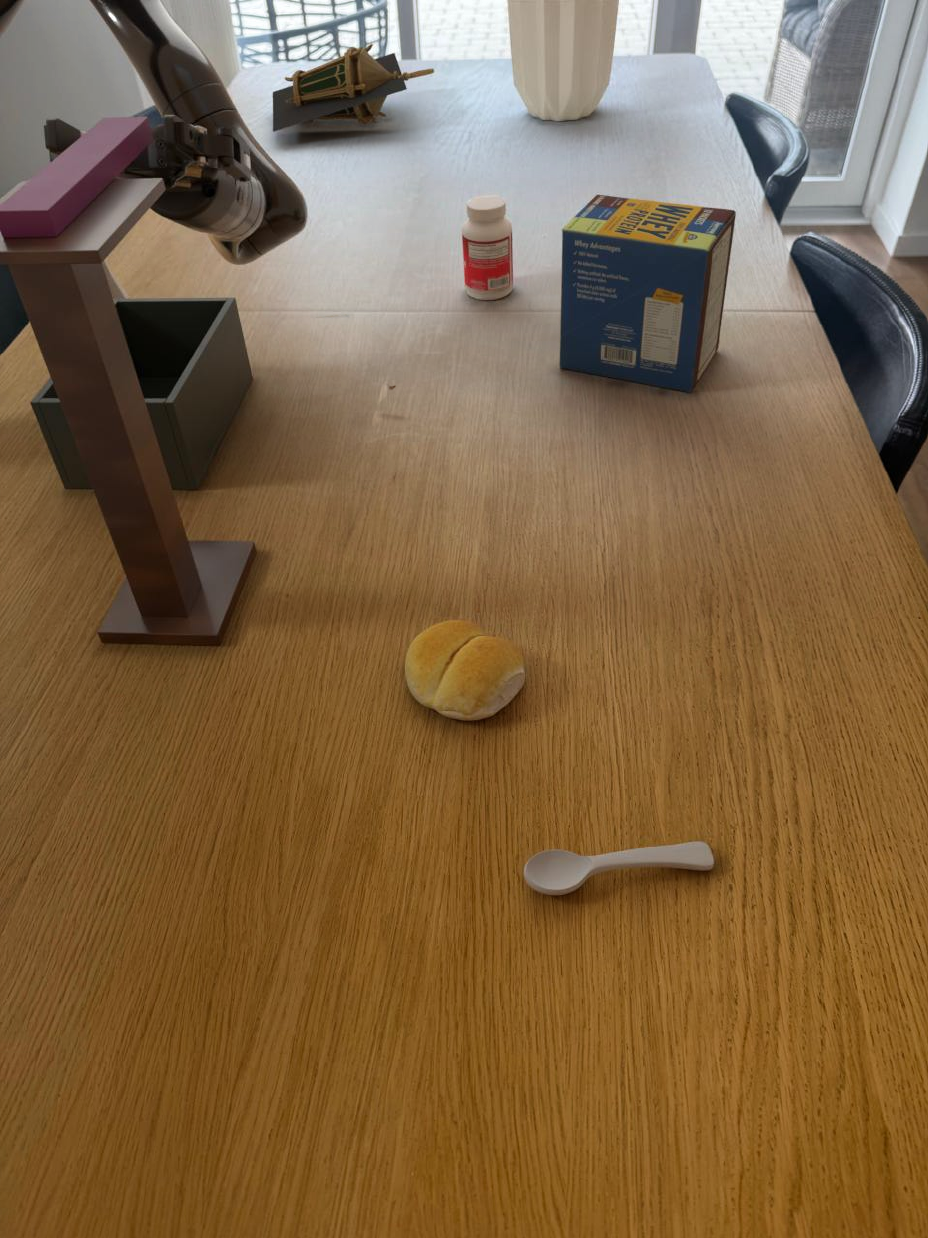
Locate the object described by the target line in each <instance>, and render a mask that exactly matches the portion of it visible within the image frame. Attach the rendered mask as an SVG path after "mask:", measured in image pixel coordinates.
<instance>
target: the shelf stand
mask: <svg viewBox="0 0 928 1238" xmlns="http://www.w3.org/2000/svg"><path fill="white" fill-rule="evenodd" d="M28 181H29V180H21V181H19V182H18V183H17V184H16V185H14V186H13V187H12V188H11V189H10V190H8V192H6V193H5V194H4V195H2V196H1V197H0V205H1V204H2V203H3V202H5V201H6V200H7V199H8V198H9V197H11V196H12V195H13V194H14V193H15V192H16V191H18V190H19V189H20V188H21V187H22V186H24V185H25V184H26V183H27V182H28ZM165 190H166V189H165V185H164V181H163V178H143V179H114V180H113V181H112V182H111V183H110V184H109V185H108V186H107V187H106V188H105V189H104V190H103V191H102V192H101V193H100V194H99V195H98V196H97V197H96V198H95V199H94V200H93V201H92V202H91V203H90V204H89V205H88V206H87V207H86V208H85V209H84V210H83V211H82V212H81V213H80V214H79V215H78V216H77V217H76V218H75V219H74V220H73V221H72V222H71V223H70V224H69V225H68V226H67V227H66V228H65V229H64V230H63V231H62V232H61V233H60V234H59V235H58V236H57V237H35V238H3V237H2V234H1V232H0V266H8V268H9V271H10V273H11V277H12V280H13V282H14V284H15V287H16V289H17V292H18V294H19V297H20V300H21V304H22V305H23V308H24V311H25V313H26V316H27V318H28V321H29V324H30V326H31V329H32V332H33V334H34V337H35V340H36V343H37V345H38V348H39V350H40V353H41V355H42V358H43V360H44V364H45V366H46V368H47V371H48V375H49V378H50V377H51V379H52V382H53V385H54V387H55V390H56V393H57V395H58V398H59V401H60V403H61V406H62V408H63V411H64V414H65V416H66V419H67V422H68V424H69V427H70V430H71V432H72V435H73V438H74V440H75V443H76V445H77V448H78V451H79V453H80V456H81V459H82V461H83V464H84V467H85V469H86V472H87V475H88V477H89V480H90V482H91V485H92V488H93V489H92V490H93V494H94V496H95V498H96V500H97V504H98V506H99V509H100V511H101V514H102V516H103V519H104V522H105V524H106V527H107V530H108V532H109V535H110V538H111V541H112V543H113V546H114V548H115V552H116V554H117V556H118V559H119V561H120V564H121V566H122V569H123V572H124V575H125V578H124V580H123V582H122V584H121V586H120V587H119V590H118V591H117V594H116V595H115V597H114V599H113V601H112V602H111V605H110V607H109V608H108V611H107V612H106V614H105V616H104V618H103V620H102V622H101V624H100V626H99V627H98V630H97V631H96V633H97V635H98V638H99V640H100V642H101V643H104V644H107V643H110V644H139V645H140V644H143V645H144V644H145V645H146V644H147V645H176V646H177V645H178V646H214V647H215V646H216V647H217V646H218V647H220V646H221V645H222V642H223V640H224V638H225V635H226V633H227V630H228V627H229V625H230V622H231V619H232V617H233V614H234V613H235V610H236V607H237V604H238V601H239V599H240V597H241V594H242V591H243V589H244V586H245V584H246V580H247V578H248V576H249V573H250V570H251V568H252V565H253V563H254V560H255V558H256V555H257V553H258V551H257V547H256V543H255V541H253V540H252V541H251V540H250V541H247V540H245V541H244V540H189V538H188V535H187V532H186V529H185V525H184V522H183V520H182V515H181V513H180V510H179V507H178V504H177V500H176V497H175V493H174V491H173V490H172V487H171V484H170V481H169V477H168V474H167V471H166V468H165V464H164V461H163V458H162V455H161V452H160V448H159V445H158V442H157V439H156V435H155V432H154V429H153V426H152V423H151V419H150V416H149V413H148V410H147V407H146V403H145V400H144V397H143V394H142V390H141V387H140V384H139V381H138V378H137V374H136V371H135V368H134V365H133V361H132V358H131V355H130V352H129V349H128V345H127V342H126V339H125V336H124V332H123V329H122V326H121V323H120V320H119V316H118V313H117V310H116V307H115V304H114V300H113V297H112V294H111V291H110V287H109V284H108V281H107V278H106V275H105V271H104V268H103V265H102V262H103V261H104V260H106V259H107V258H108V257H109V256H110V254H112V252H113V251H114V250H115V249H116V247H117V246H119V244H120V243H121V242H122V240H124V238H125V237H126V236H127V235H128V234H129V233H130V231H132V229H133V228H134V227H136V225H137V223H138V222H139V221H140V220H141V219H142V218H143V216H144V215H145V214H146V213H147V212H148V211H149V210H150V207H151V206H152V205H153V204H154V203H155V202H156V200H157V199H158V198H159V197H160V196H161V195H162V193H163V192H164V191H165Z"/></svg>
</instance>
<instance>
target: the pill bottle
mask: <svg viewBox="0 0 928 1238" xmlns="http://www.w3.org/2000/svg"><path fill="white" fill-rule="evenodd" d="M506 206H507V205H506V200H505V198H503V197H501V196H498V195H492V194H485V195H478V196H474V197H472V198H470V199H469V200H467V202H466V216H467V219H466V220H465V221H464V222H463V224H462V227H461V237H462V238H461V241H462V258H463V273H464V274H463V277H464V289H465V290H464V291H465V293H466V294H467V295H468V296H469V297H471V298H473V299H476V300H480V301H495V300H500V299H503V298H504V297H507V296H508V295H510V294H511V292H512V291H513V288H514V258H513V257H514V254H513V253H514V252H513V226H512V222H511V221H510V219H509V218H507V217H506V214H507V213H506V212H507V207H506Z"/></svg>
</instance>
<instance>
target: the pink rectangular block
mask: <svg viewBox="0 0 928 1238" xmlns="http://www.w3.org/2000/svg"><path fill="white" fill-rule="evenodd" d="M151 129H152V127H151V124H150V119H149V116H124V117H121V116H120V117H102V118H101V119H100V120H99V121H98V122H97V123H95V124H94V125H93V126H92V127H90V129H88V130H87V131H85V132H86V133H85V134H84V135H83V136H81V137H80V138H79V139H78V140H77V141H76V142H74V143H73V144H72V145H71V146H70V147H68V148H67V149H66V150H65V151H64V152H63V153H61V154H60V155H59V156H58V157H57V158H55V159H54V160H53V161H52V162H51V163H48V164H47V165H45V167H44V168H42V169H41V170H40V171H39V172H37V173H36V174H35V175H34V176H33V177H32V178H30V179H29V180H27V181H28V182H27V183H26V184H25V185H24V186H22V187H21V188H20V189H19V190H18V191H16V192H15V193H14V194H13V195H12V196H11V197H9V198H8V199H7V200H6V201H5V202H3V203H2V204H1V205H0V232H1V234H2V237H3V238H35V237H57V236H58V235H59V234H60V233H61V232H62V231H63V230H64V229H65V228H66V227H67V226H68V225H69V224H70V223H71V222H72V221H73V220H74V219H75V218H76V217H77V216H78V215H79V214H80V213H81V212H82V211H83V210H84V209H85V208H86V207H87V206H88V205H89V204H90V203H91V202H92V201H93V200H94V199H95V198H96V197H97V196H98V195H99V194H100V193H101V192H102V191H103V190H104V189H105V188H106V187H107V186H108V185H109V184H110V183H111V182H112V181H113V180H114V179H115V178H116V177H117V176H118V175H119V174H120V173H121V172H122V171H123V170H124V169H125V168H126V167H127V166H128V165H129V164H130V163H131V162H132V161H133V160H134V159H135V158H136V157H137V156H138V155H139V154H140V153H141V152H142V151H143V150H144V149H145V148H146V147H147V146H148V145H149V144H150V143H151V142H152V141H153V140H154V139H153V135H152V131H151Z"/></svg>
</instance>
